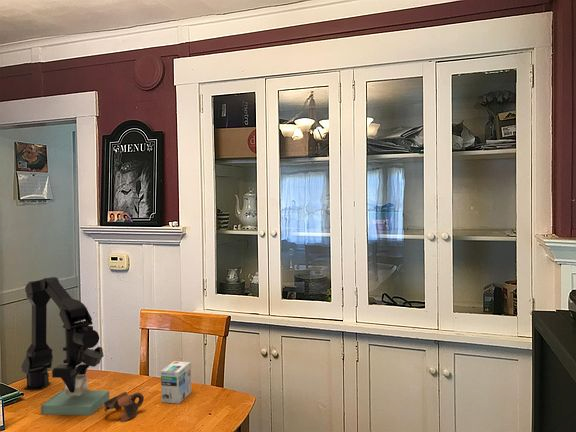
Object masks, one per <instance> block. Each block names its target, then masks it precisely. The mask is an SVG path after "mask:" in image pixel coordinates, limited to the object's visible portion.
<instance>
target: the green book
mask: <svg viewBox="0 0 576 432" xmlns="http://www.w3.org/2000/svg"><path fill="white" fill-rule="evenodd" d="M108 400H110V390H98V389H97V390H96V389H95V390H94V389H87V390H86V391H85V392H84V393H82V394H81V395H65V388H63V389H62V390H61V391H58V392H57V393H56V394H54V395H53V396H51V398H49V399H48V400H46V401H44V403H42V404H41V407H40V408H41V409H40V410H41V413H40V414H41V415H52V416H53V415H55V416H56V415H58V416H59V415H63V416H65V415H66V416H92V415H93V414H94V413H95V412H96V411H98V409H100V408H101V407H102V406H103V405H104V403H105V402H106V401H108Z"/></svg>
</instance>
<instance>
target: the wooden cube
mask: <svg viewBox="0 0 576 432" xmlns="http://www.w3.org/2000/svg"><path fill="white" fill-rule="evenodd" d="M64 389H65V395H81V394H82V393H84V392H85V391H86V390H89V389H88V374H86V375H77V376H76V378H75V390H74V392H73V393H71V392H70V391H69V389H68V388H67V386H66V384H65V383H64Z"/></svg>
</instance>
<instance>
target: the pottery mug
mask: <svg viewBox="0 0 576 432" xmlns="http://www.w3.org/2000/svg"><path fill="white" fill-rule="evenodd" d="M137 398H138V402H137V403H136V399H137ZM144 399H145V398H144V395H143V393H141V392H136V393H133V394H131V395H130V394H128V392H127V391H123V392H121V393H119V394H117V395H116V396H115V395H114V396H113V397H112V398H109V399H108V400H107V401H106V402H105V403H104V404H103V405H104V412H105V413H107V411H108V410H113V409H114V410H116V412H119V411H121V409H122V408H123V410H124V412H123V413H122V414H120V415H119V417H120V419H121V422H122V423H124V422H126V421H128V420H130V419H131V418H134V417H136V416H137V411H138V410H139V408H140V407H141V406H142V405H143V403H144V401H145V400H144Z"/></svg>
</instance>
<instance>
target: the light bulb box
mask: <svg viewBox="0 0 576 432" xmlns="http://www.w3.org/2000/svg"><path fill="white" fill-rule="evenodd" d="M191 364H192V363H191V362H190V361H177V360H173V361H172V362H171V363H169V364H168V365H167V366H166V367H164V368H163V369H161V370H160V388H161V390H160V392H161V393H160V394H161V403H169V404H180V403H181V402H183V401H184V400H185V398H187V397H188V396H189V395H190V394H191V393H192V370H191V369H192V365H191Z"/></svg>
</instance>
